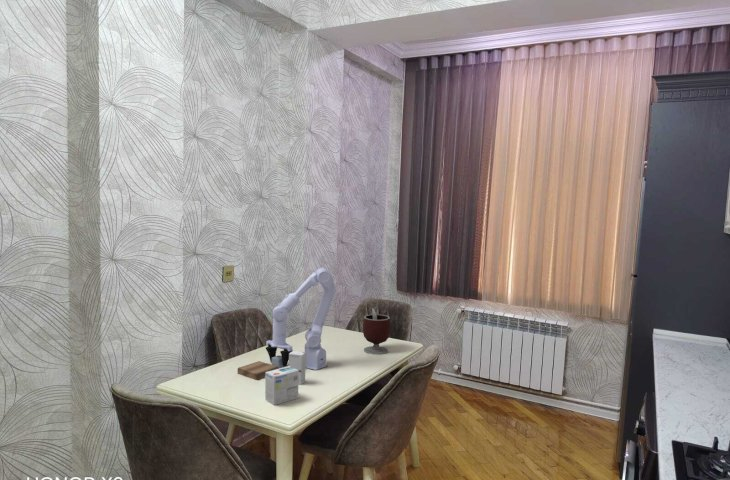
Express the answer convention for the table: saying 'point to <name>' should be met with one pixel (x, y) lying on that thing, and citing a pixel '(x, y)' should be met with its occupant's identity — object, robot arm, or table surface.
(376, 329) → the mate gourd
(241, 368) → the walnut base
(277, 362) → the slate cube
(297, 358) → the skincare box
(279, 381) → the light bulb box
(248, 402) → the table surface
